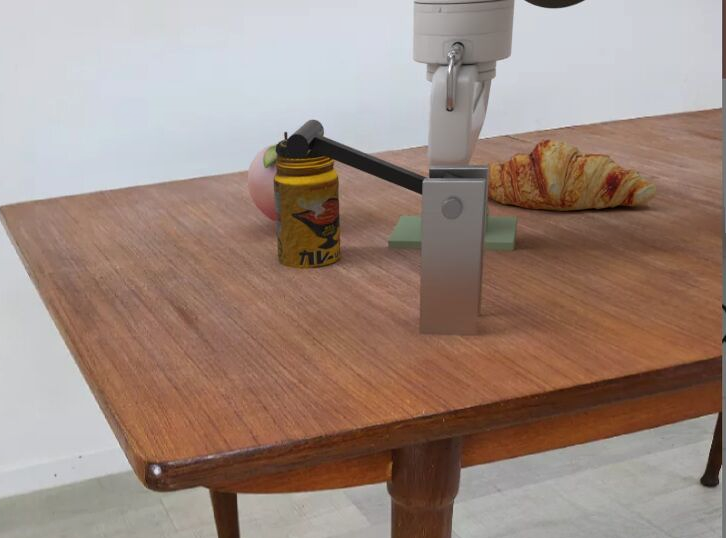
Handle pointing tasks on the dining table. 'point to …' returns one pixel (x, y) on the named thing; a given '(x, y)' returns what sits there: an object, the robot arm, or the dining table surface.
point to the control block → (496, 235)
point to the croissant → (566, 180)
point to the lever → (350, 156)
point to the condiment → (306, 209)
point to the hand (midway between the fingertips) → (456, 196)
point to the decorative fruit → (264, 180)
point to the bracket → (452, 249)
